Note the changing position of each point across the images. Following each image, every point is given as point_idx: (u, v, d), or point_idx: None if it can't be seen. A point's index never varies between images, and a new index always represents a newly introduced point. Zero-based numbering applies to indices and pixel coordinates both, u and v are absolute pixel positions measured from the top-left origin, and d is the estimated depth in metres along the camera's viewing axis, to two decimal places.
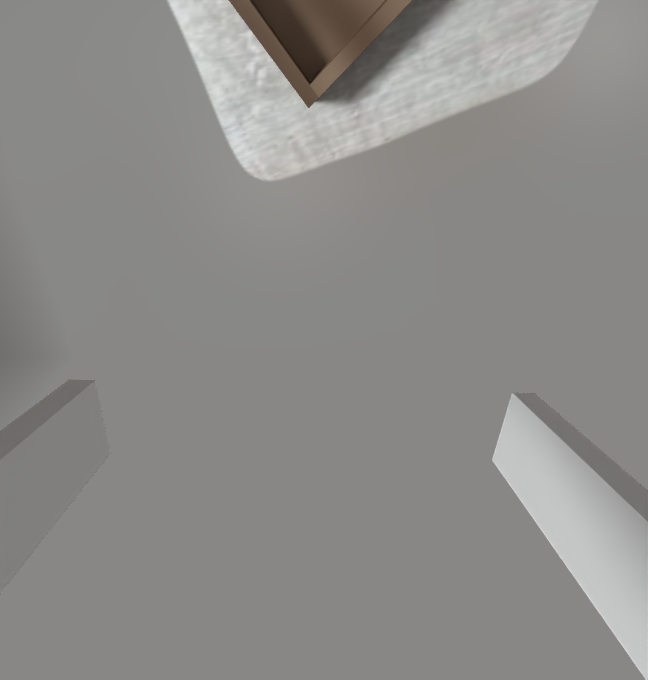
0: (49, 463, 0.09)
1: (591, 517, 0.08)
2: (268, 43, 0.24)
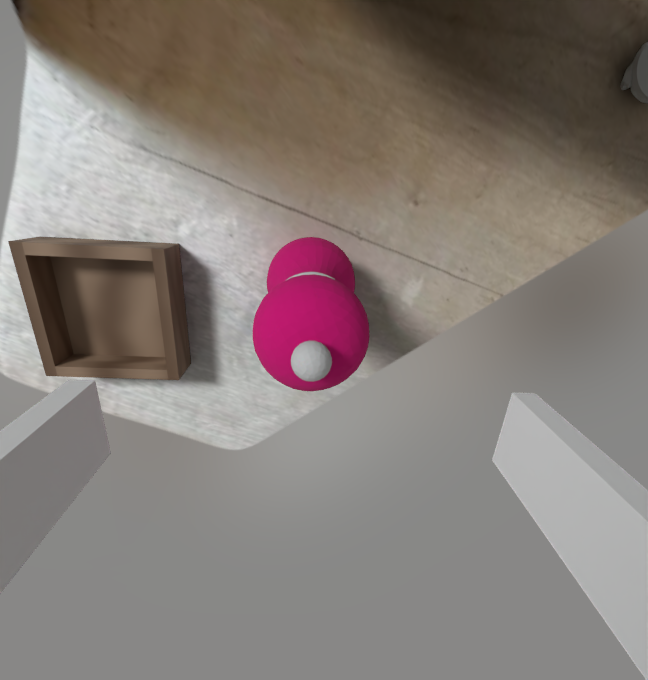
0: (49, 463, 0.09)
1: (591, 517, 0.08)
2: (38, 329, 0.30)
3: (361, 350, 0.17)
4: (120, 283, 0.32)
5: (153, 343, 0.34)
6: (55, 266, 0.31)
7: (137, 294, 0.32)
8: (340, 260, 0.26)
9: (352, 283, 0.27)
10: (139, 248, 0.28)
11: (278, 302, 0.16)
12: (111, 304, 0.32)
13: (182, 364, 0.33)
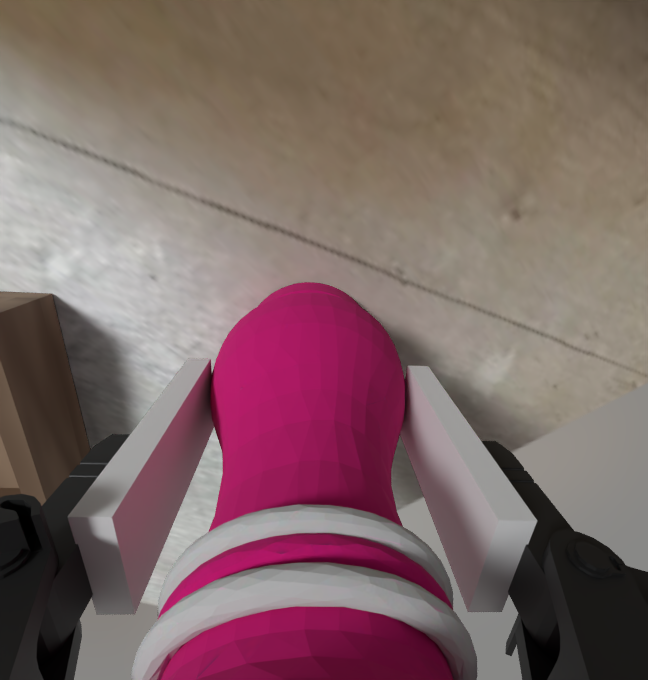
0: (192, 424, 0.10)
1: (439, 461, 0.09)
2: None
3: None
4: None
5: None
6: None
7: None
8: (379, 360, 0.11)
9: (403, 402, 0.12)
10: None
11: None
12: None
13: None
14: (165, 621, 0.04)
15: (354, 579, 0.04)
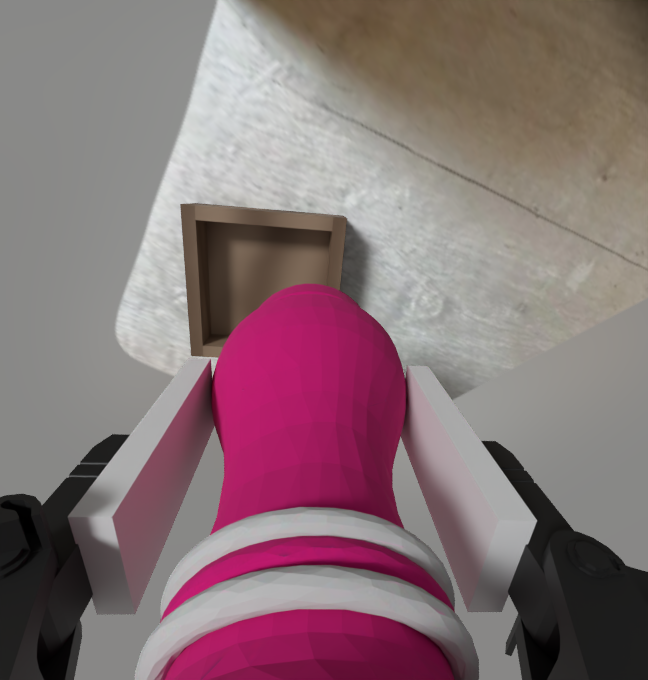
0: (192, 424, 0.10)
1: (439, 461, 0.09)
2: (192, 304, 0.28)
3: None
4: (275, 257, 0.29)
5: None
6: (210, 236, 0.28)
7: (292, 269, 0.29)
8: (380, 361, 0.11)
9: (404, 403, 0.12)
10: (320, 216, 0.25)
11: None
12: (262, 280, 0.30)
13: None
14: (168, 624, 0.04)
15: (356, 582, 0.04)
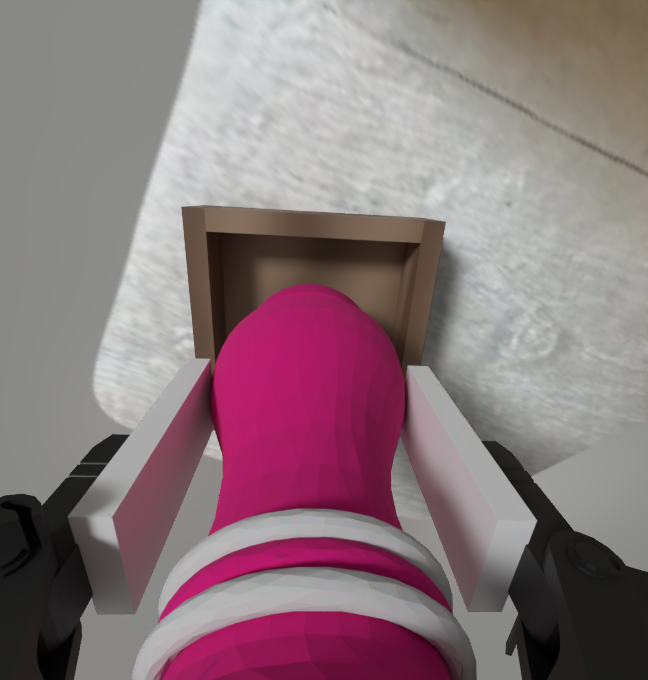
0: (192, 424, 0.10)
1: (439, 461, 0.09)
2: (203, 358, 0.18)
3: None
4: (323, 282, 0.20)
5: None
6: (226, 254, 0.19)
7: None
8: (378, 362, 0.11)
9: (403, 404, 0.12)
10: (403, 220, 0.16)
11: None
12: None
13: None
14: (165, 625, 0.04)
15: (353, 584, 0.04)
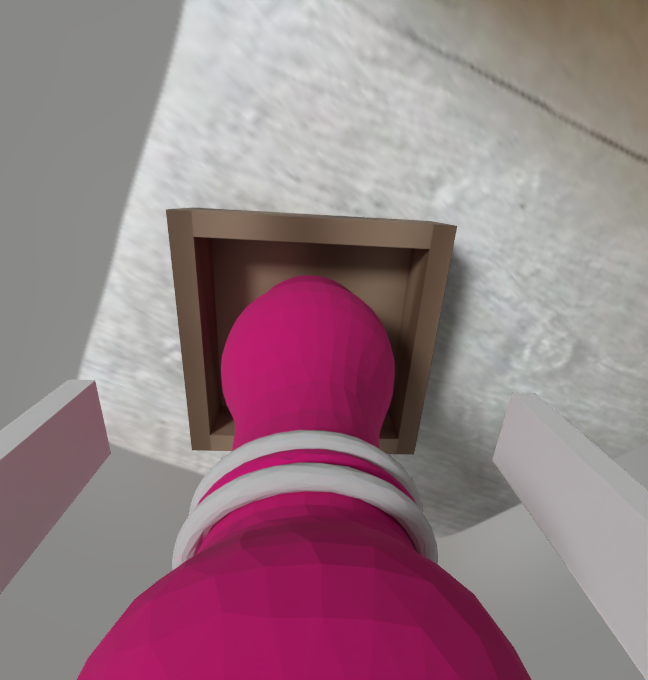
0: (49, 463, 0.09)
1: (591, 517, 0.08)
2: (192, 374, 0.17)
3: None
4: None
5: None
6: (217, 260, 0.17)
7: None
8: (369, 338, 0.12)
9: (392, 377, 0.13)
10: (410, 224, 0.15)
11: None
12: None
13: None
14: (201, 506, 0.06)
15: (341, 472, 0.06)
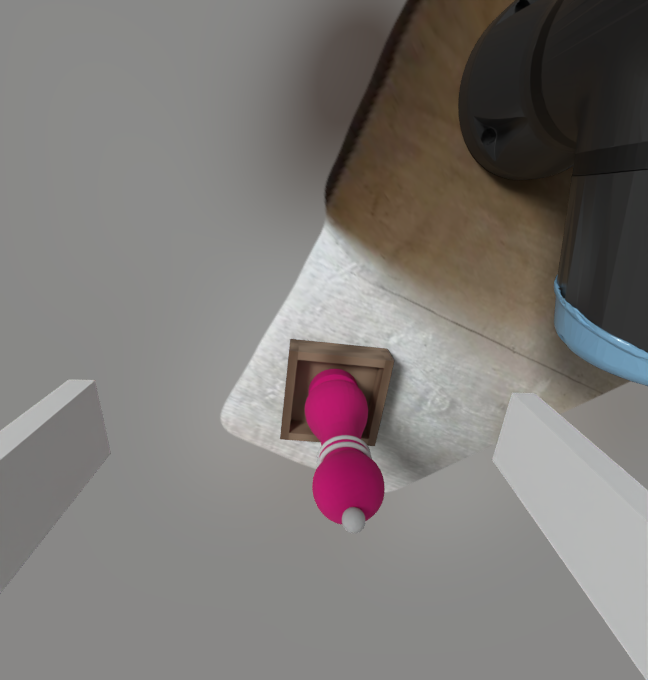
0: (49, 463, 0.09)
1: (591, 517, 0.08)
2: (286, 408, 0.41)
3: (380, 505, 0.28)
4: None
5: None
6: (298, 360, 0.42)
7: None
8: (360, 405, 0.37)
9: (366, 417, 0.38)
10: (377, 359, 0.40)
11: (334, 480, 0.27)
12: None
13: None
14: (327, 449, 0.31)
15: (354, 443, 0.30)
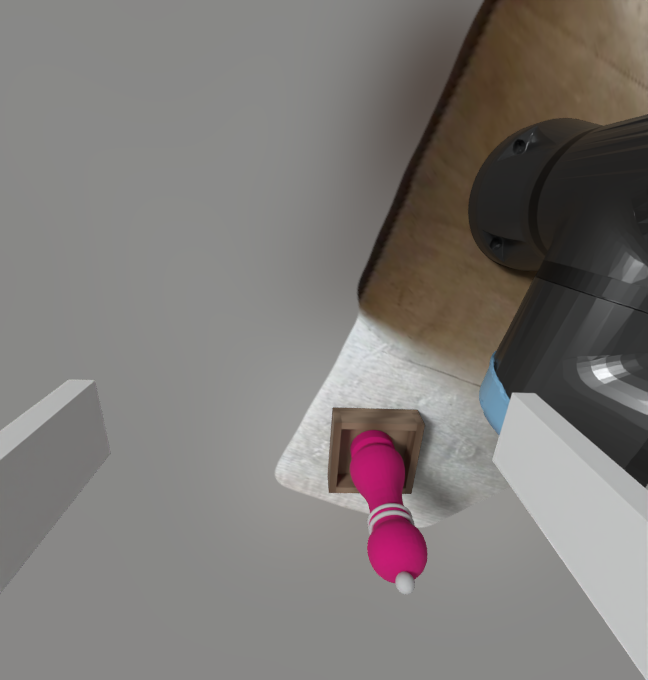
0: (49, 463, 0.09)
1: (591, 517, 0.08)
2: (333, 467, 0.48)
3: (424, 566, 0.34)
4: None
5: None
6: None
7: None
8: (398, 468, 0.43)
9: (404, 476, 0.44)
10: (410, 424, 0.46)
11: (387, 549, 0.33)
12: None
13: None
14: (376, 517, 0.37)
15: (398, 511, 0.37)
